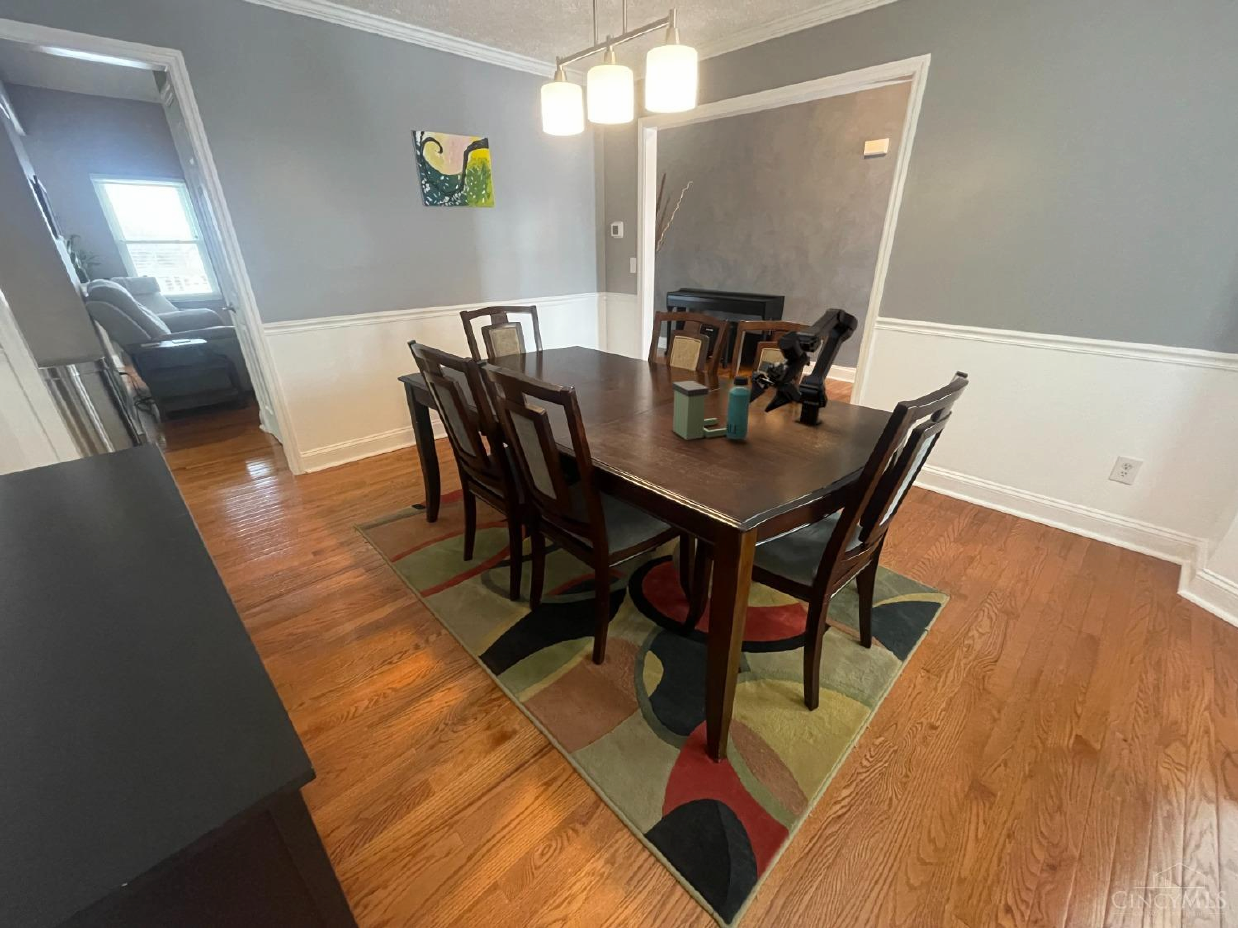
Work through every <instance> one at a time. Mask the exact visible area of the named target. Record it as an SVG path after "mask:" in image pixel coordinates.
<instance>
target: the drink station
mask: <svg viewBox="0 0 1238 928" xmlns="http://www.w3.org/2000/svg"><path fill="white" fill-rule="evenodd" d="M672 390H673V391H674V393H673V418H672V419H673V421H672V422H673V423H672V431H673V432H674V433H675V434H677V435H678V436H679V437H681V438H683V440H686V441H689V440H694V439H695V440H696V439H702V438H704V437H706V438H707V439H709V438H710V439H711V438H716V437H722V436H726V429H727V427H724V428H717V429H712V430H711V429H707V428H705V427H708V426H714V425H717V420H718V419H717V418H716V417H713V418H706V419H705V412H706V411H705V410H706V398H707V395H709V387H707V386H705V385H703V384H701V383H699V382H696V381H694V380H685V381H683V380H682V381H674V382H672Z"/></svg>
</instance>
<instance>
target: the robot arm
mask: <svg viewBox="0 0 1238 928" xmlns="http://www.w3.org/2000/svg"><path fill="white" fill-rule="evenodd" d="M858 326H859V321H858V319H857V318H856V316H855V315H852V314H851V313H848V312H846V310H844V309H842V308H835V307H833V308H832V307H831V308H827V309H826V310H825V312H824V313H823V314H822V316H821V317H819V318H818V319H817V320H816V321H815V322H814V323H813V324H812V325H810V326H808V327H805V328H801V329H800V330H798V331H797V330H794V329H790V330H789V331H788V332H787V333H784V334H783V335H781V336H779V338H778V339H777V340H776V345H777V347H778V350H779V352H780V354H781V355H782V357H783V358H784V360H783V361H782V362H779V361H776V362H775V363H773V362H770V361H767V360H763V359H761V362H760V365H758V368H757V371H753V372H751V374H750V375H749V379H750V382H751V388H750V390H749V391H750V392H751V394H750V402H749V405H750V404H752V403H754V401H756V400H757V399H758V398H760V397H761V396H763V394H765V393H766V391H767V390H769V388H772V389H774V390H776V391H775V395H774V396H773V398H772V399H771V400H770V401H769V402H768V404H767V405H766V407H765V409H764V412H765V413H769V412H772V411H775V410H777V409H778V408H781V407H783V406H786V405H788V404H793V403H796V404H800V405H801V408H800V409H801V410H800V416H799V418H797V419H794V420H795V422H796V423H799V424H804V425H807V426H812V427H814V426H815V425H818V424H821V423H822V422H823V420H822V419H819V416H820V411H821V410H820V409H823V408H826V407H827V404H828V401H829V399H828V396H827V393H826V392H827V386H826V381H825V380H826V378H827V376H828V374H829V372H830V370H831V368H832V366H833V364H834V362H835V359H836V357H837V356H838V353H839V351H840V349H841V347H842V345H843V343H844V342H846V341H847V340H849V339H850V338H851V337H852V336H853V334H854V333H855V331H856V330H857V328H858ZM827 334H828V337H827V339H826V342H825V343H824V345H823V348H822V350H821V352H820V354H819V355H818V358H817V360H816V362H815V364H814V367H813V369H812V370H811V373H809V375H807V374H804V375H803V376H802V378H801V380H800V382H799V384H798V386H796V385H795V384H794V383H791V382H792V381H797V380H798V374H799V373H800V372H801V371H802V370H803V368H804V367H805V366H806V367H810V366H811V356H810V355H808V354H807V353H812V354H814V353H815V352H817V351H818V349H819V348H820V346H821V345H822V339H823V338H824V337H825V336H826V335H827ZM764 373H765V374H764Z"/></svg>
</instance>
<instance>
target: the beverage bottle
mask: <svg viewBox="0 0 1238 928" xmlns="http://www.w3.org/2000/svg"><path fill="white" fill-rule="evenodd" d="M733 385H735V386H734V387H732V388H731V389H730V390H729V392H728V393H729V395H728V403H727V415H726V428H727V429H726V435H725V436H726V437H727V438H728V439H732V440H744V439H746V437H747V434H748V425H749V424H748V423H749V412H750V404H749V402H750V394H751V392H750V391H751V390H749V388H747V387H746V386H748V385H749V377H748V376H744V375H736V376H734V378H733Z"/></svg>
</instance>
